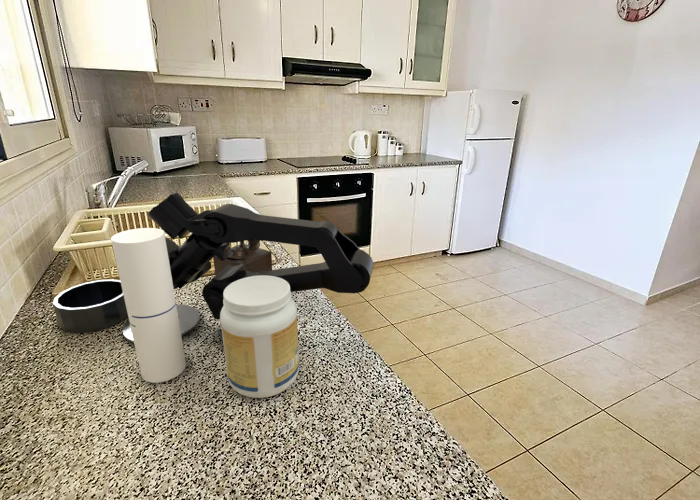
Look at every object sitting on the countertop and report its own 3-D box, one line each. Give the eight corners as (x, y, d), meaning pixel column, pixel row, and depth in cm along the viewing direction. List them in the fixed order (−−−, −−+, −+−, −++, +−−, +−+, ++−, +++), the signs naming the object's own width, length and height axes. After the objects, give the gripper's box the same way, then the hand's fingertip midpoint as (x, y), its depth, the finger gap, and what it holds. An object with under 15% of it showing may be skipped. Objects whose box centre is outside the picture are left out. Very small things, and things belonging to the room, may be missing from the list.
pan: (147, 303, 87) (143, 283, 85) (99, 336, 74) (93, 313, 72) (97, 297, 89) (92, 276, 87) (43, 327, 77) (35, 304, 75)
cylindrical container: (169, 385, 62) (142, 245, 53) (131, 379, 63) (99, 240, 54) (194, 359, 68) (174, 230, 59) (159, 353, 70) (134, 226, 61)
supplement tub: (291, 348, 72) (287, 268, 66) (307, 390, 62) (305, 300, 55) (225, 361, 68) (215, 278, 62) (230, 409, 57) (219, 314, 51)
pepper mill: (213, 289, 94) (204, 221, 87) (245, 274, 103) (240, 211, 96) (258, 307, 87) (252, 233, 80) (289, 288, 95) (286, 221, 89)
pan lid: (213, 312, 84) (209, 278, 81) (172, 351, 70) (165, 311, 67) (155, 304, 86) (149, 271, 83) (105, 341, 73) (95, 302, 70)
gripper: (191, 210, 78) (153, 254, 84) (124, 240, 61) (83, 292, 67) (230, 249, 79) (190, 289, 85) (175, 288, 62) (129, 335, 68)
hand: (152, 299), depth 76 cm, fingers open, 9 cm apart
